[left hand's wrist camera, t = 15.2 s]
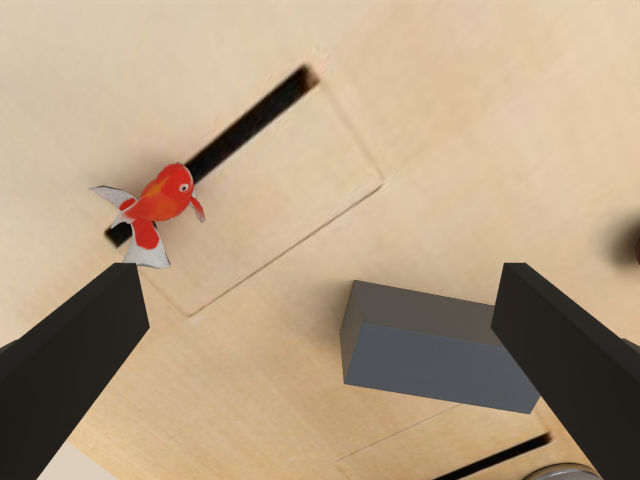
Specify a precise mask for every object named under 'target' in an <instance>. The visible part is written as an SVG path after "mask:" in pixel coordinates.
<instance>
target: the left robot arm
mask: <svg viewBox="0 0 640 480" xmlns="http://www.w3.org/2000/svg"><path fill="white" fill-rule="evenodd" d="M149 328H150V326H149V322H148V317H147V312H146V308H145V303H144V298H143V293H142V289H141V284H140V279H139V275H138V270H137V265H136V263H114V264H112V265H111V266H110V267H109V268H107V269H106V270H105V271H104V272H102V273H101V274H100V275H99V276H97V277H96V278H95V279H94V280H92V281H91V282H90V283H89V284H87V285H86V286H85V287H84V288H82V289H81V290H80V291H78V292H77V293H76V294H75V295H73V296H72V297H71V298H70V299H68V300H67V301H66V302H65V303H63V304H62V305H61V306H60V307H58V308H57V309H56V310H55V311H53V312H52V313H51V314H50V315H48V316H47V317H46V318H45V319H43V320H42V321H41V322H40V323H38V324H37V325H36V326H35V327H33V328H32V329H31V330H30V331H28V332H27V333H26V334H25V335H23V336H22V337H21V338H19V339H18V340H15V341H13V342H11V343H9V344H7V345H5V346H3V347H1V348H0V480H37V478H38V477H39V475H40V474H41V473H42V471H43V470H44V469H45V467H46V466H47V465H48V463H49V462H50V461H51V459H52V458H53V457H54V455H55V454H56V453H57V451H58V450H59V449H60V447H61V446H62V445H63V443H64V442H65V441H66V439H67V438H68V437H69V435H70V434H71V433H72V431H73V430H74V429H75V427H76V426H77V425H78V423H79V422H80V420H81V419H82V418H83V416H84V415H85V414H86V412H87V411H88V410H89V408H90V407H91V406H92V404H93V403H94V402H95V400H96V399H97V398H98V396H99V395H100V394H101V392H102V391H103V390H104V388H105V387H106V386H107V384H108V383H109V382H110V380H111V379H112V378H113V376H114V375H115V374H116V372H117V371H118V369H119V368H120V367H121V365H122V364H123V363H124V361H125V360H126V359H127V357H128V356H129V355H130V353H131V352H132V351H133V349H134V348H135V347H136V345H137V344H138V343H139V341H140V340H141V339H142V337H143V336H144V335H145V333H146V332H147V331H148V329H149ZM490 328H491V329H492V331H493V332H494V333H495V335H496V336H497V337H498V339H499V340H500V341H501V343H502V344H503V345H504V347H505V348H506V349H507V351H508V352H509V353H510V355H511V356H512V357H513V359H514V360H515V361H516V363H517V364H518V365H519V367H520V368H521V369H522V371H523V372H524V374H525V375H526V376H527V378H528V379H529V380H530V382H531V383H532V384H533V386H534V387H535V388H536V390H537V391H538V392H539V394H540V395H541V396H542V398H543V399H544V400H545V402H546V403H547V404H548V406H549V407H550V408H551V410H552V411H553V412H554V414H555V415H556V416H557V418H558V419H559V420H560V422H561V423H562V425H563V426H564V427H565V429H566V430H567V431H568V433H569V434H570V435H571V437H572V438H573V439H574V441H575V442H576V443H577V445H578V446H579V447H580V449H581V450H582V451H583V453H584V454H585V455H586V457H587V458H588V459H589V461H590V462H591V463H592V465H593V466H594V467H595V469H596V470H597V471H598V473H599V474H600V476H601V477H602V478H603V480H640V346H638V345H636V344H634V343H632V342H630V341H628V340H626V339H621V338H619V337H618V336H617V335H615V334H614V333H613V332H612V331H610V330H609V329H608V328H607V327H605V326H604V325H603V324H602V323H600V322H599V321H598V320H597V319H595V318H594V317H593V316H592V315H590V314H589V313H588V312H587V311H585V310H584V309H583V308H582V307H580V306H579V305H578V304H577V303H575V302H574V301H573V300H572V299H570V298H569V297H568V296H567V295H565V294H564V293H563V292H562V291H560V290H559V289H558V288H556V287H555V286H554V285H553V284H551V283H550V282H549V281H548V280H546V279H545V278H544V277H543V276H541V275H540V274H539V273H538V272H536V271H535V270H534V269H533V268H531V267H530V266H529V265H528V264H526V263H504V265H503V270H502V275H501V279H500V284H499V289H498V293H497V298H496V303H495V308H494V312H493V317H492V322H491V326H490Z"/></svg>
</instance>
